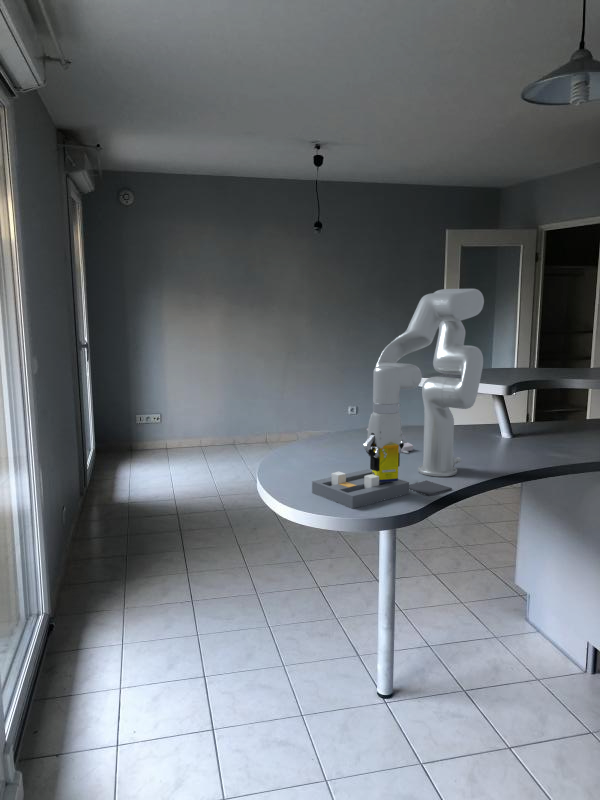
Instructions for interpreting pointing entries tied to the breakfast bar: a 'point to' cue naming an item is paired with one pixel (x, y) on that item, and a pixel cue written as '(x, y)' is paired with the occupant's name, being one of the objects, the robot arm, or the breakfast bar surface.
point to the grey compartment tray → (358, 490)
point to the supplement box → (388, 463)
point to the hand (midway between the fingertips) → (384, 467)
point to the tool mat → (428, 488)
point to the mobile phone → (405, 447)
